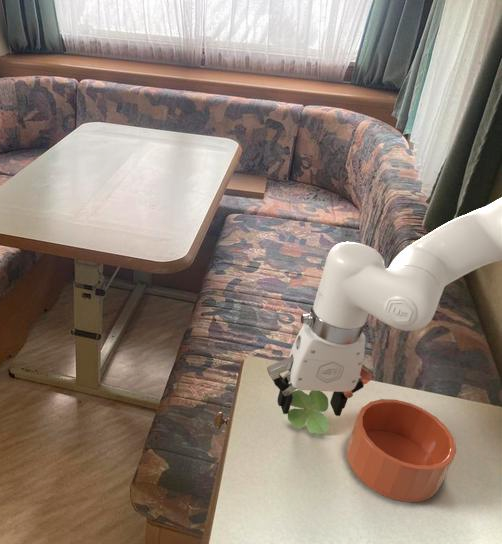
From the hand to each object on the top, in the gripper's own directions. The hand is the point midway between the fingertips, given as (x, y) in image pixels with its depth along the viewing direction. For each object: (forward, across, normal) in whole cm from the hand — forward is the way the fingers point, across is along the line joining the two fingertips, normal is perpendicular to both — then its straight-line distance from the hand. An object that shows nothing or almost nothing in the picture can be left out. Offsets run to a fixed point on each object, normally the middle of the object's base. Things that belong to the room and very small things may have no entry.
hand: (309, 408), depth 94 cm
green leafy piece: (+2, 0, 0) cm, 2 cm away
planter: (+2, +11, -9) cm, 14 cm away
